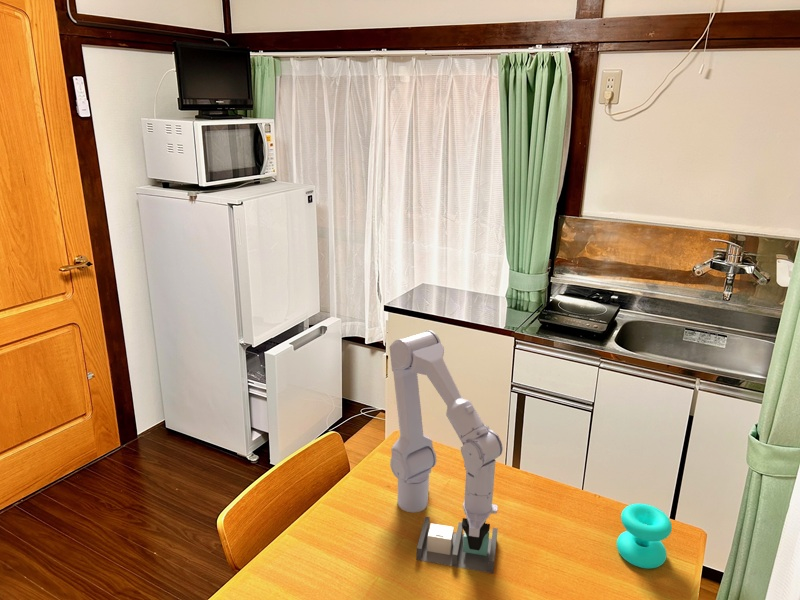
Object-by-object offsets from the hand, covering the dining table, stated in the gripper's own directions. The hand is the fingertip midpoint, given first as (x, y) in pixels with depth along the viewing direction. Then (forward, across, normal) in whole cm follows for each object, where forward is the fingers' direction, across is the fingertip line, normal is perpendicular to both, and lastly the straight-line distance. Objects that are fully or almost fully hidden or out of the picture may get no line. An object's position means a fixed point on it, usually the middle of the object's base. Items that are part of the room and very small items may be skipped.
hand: (475, 541), depth 127 cm
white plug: (+3, 0, +8) cm, 8 cm away
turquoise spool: (+4, +9, -35) cm, 36 cm away
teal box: (+2, 0, 0) cm, 2 cm away
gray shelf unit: (+4, 0, +4) cm, 5 cm away
